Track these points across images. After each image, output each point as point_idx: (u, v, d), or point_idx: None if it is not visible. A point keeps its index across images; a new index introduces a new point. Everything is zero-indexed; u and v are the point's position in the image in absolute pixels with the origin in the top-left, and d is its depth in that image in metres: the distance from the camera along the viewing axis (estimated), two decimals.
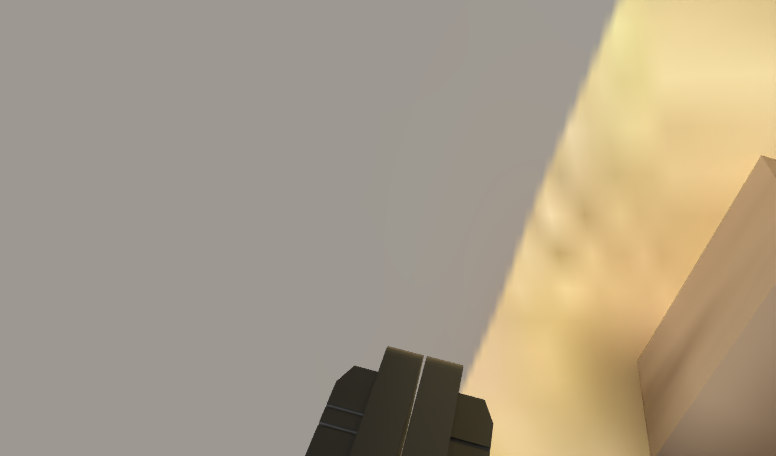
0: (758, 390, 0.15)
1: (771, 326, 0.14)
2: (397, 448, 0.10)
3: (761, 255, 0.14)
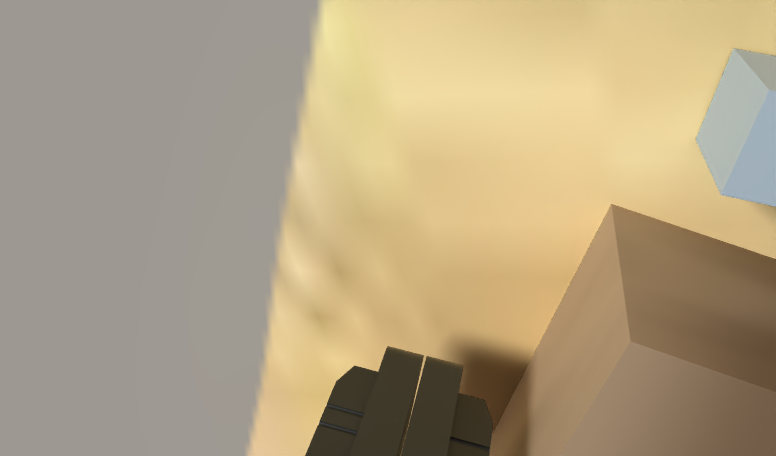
0: None
1: None
2: (397, 448, 0.10)
3: (587, 354, 0.10)
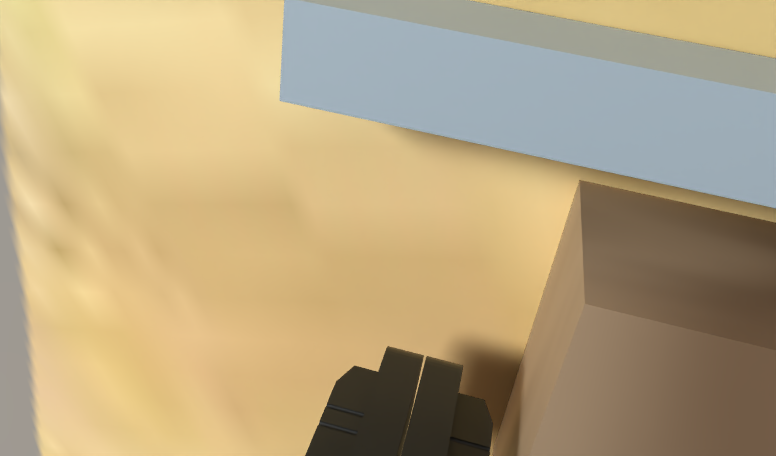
0: None
1: (569, 431, 0.09)
2: (397, 448, 0.10)
3: (559, 325, 0.10)
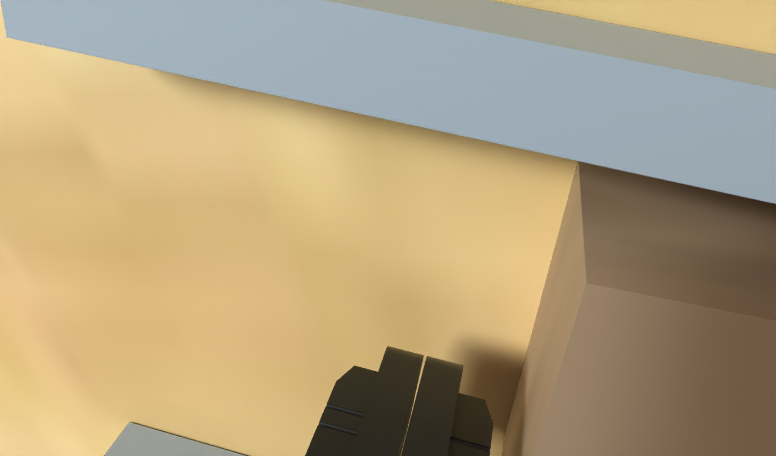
0: None
1: (577, 416, 0.09)
2: (397, 448, 0.10)
3: (562, 309, 0.10)
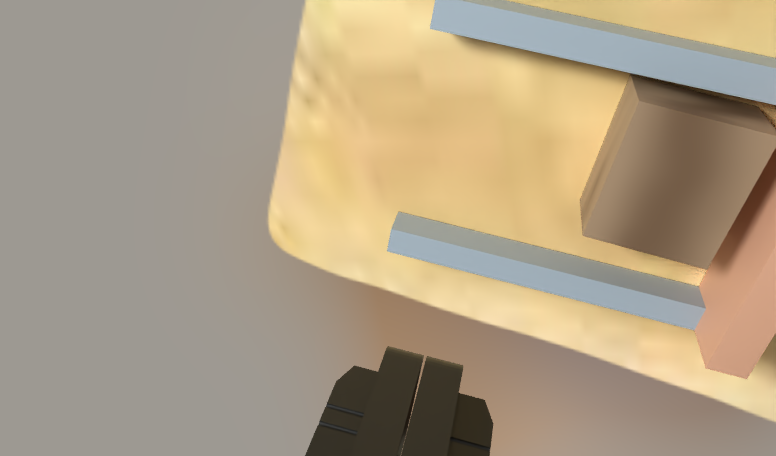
0: (628, 186, 0.30)
1: (629, 150, 0.29)
2: (397, 448, 0.10)
3: (625, 119, 0.29)
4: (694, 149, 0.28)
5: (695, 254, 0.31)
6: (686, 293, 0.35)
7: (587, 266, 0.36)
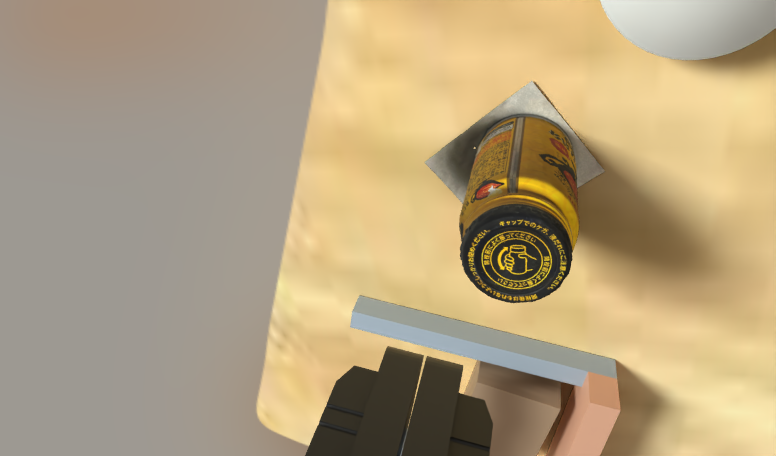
0: None
1: None
2: (397, 448, 0.10)
3: (473, 383, 0.47)
4: (512, 409, 0.46)
5: None
6: None
7: None
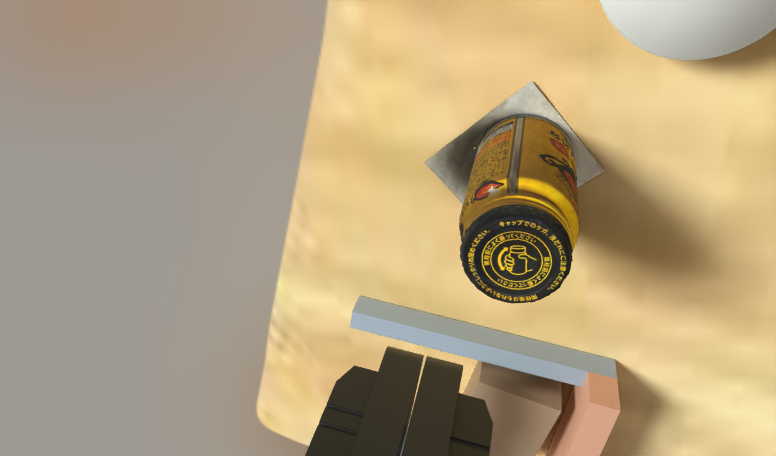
0: None
1: None
2: (397, 448, 0.10)
3: (475, 383, 0.47)
4: (512, 410, 0.46)
5: None
6: None
7: None
